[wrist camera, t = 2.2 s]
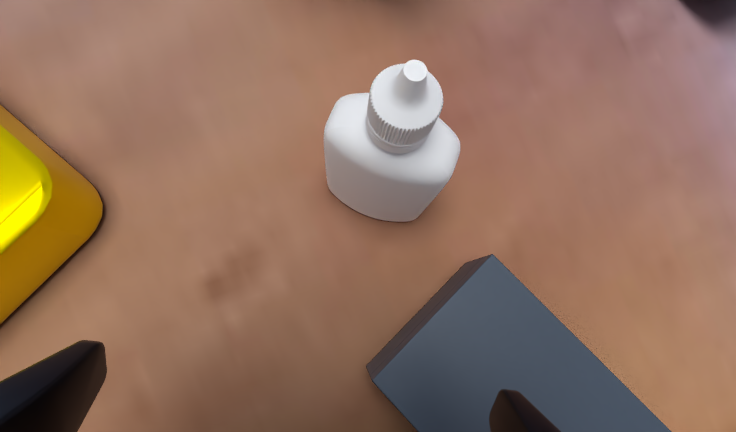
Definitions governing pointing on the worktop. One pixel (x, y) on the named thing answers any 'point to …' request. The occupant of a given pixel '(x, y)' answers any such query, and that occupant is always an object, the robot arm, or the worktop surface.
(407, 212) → the eye dropper bottle
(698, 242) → the worktop surface
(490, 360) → the shelf
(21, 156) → the element tile
